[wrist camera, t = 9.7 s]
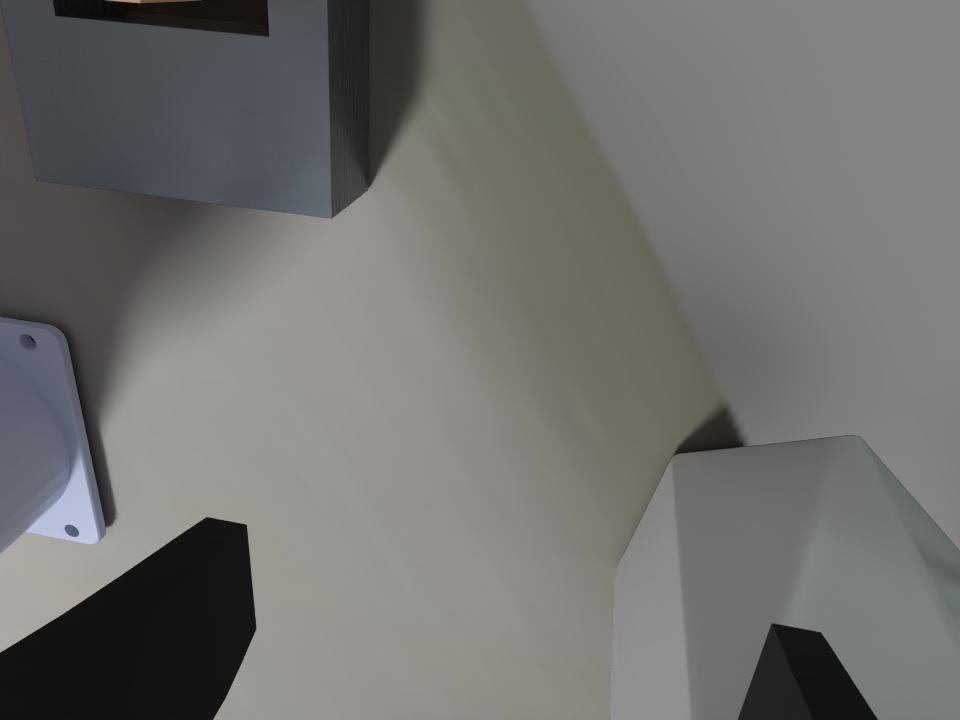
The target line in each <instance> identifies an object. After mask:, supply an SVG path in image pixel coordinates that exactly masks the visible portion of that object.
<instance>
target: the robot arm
mask: <svg viewBox="0 0 960 720" xmlns="http://www.w3.org/2000/svg"><path fill="white" fill-rule="evenodd" d="M30 336H31V337H32V338H33V339H34V340H35V342H36V343H34V342H33V341H32V340H31V338H30ZM24 532H30V533H35V534H40V535H45V536H50V537H55V538H60V539H65V540H70V541H75V542H80V543H86V544H96V543H98V542H99V541H100V540H101V539H102V538H103V537H104V536H105V534H106V527H105V522H104V517H103V513H102V508H101V503H100V498H99V493H98V488H97V483H96V479H95V474H94V469H93V464H92V459H91V454H90V449H89V445H88V440H87V435H86V430H85V425H84V420H83V416H82V411H81V406H80V401H79V396H78V391H77V386H76V382H75V377H74V372H73V367H72V362H71V357H70V353H69V348H68V343H67V340H66V338H65V336H64V334H63V333H62V332H61V331H60V330H59V329H57V328H56V327H55V326H52V325H49V324H43V323H37V322H30V321H24V320H17V319H11V318H5V317H0V554H1V553H2V552H3V551H4V550H6V549H7V548H8V547H9V546H10V545H11V544H12V543H13V542H14V541H15V540H17V539H18V538H19V537H20V536H21V535H22V534H23V533H24ZM255 631H256V619H255V608H254V597H253V587H252V576H251V565H250V555H249V544H248V533H247V525H246V524H240V523H235V522H230V521H224V520H219V519H214V518H208V517H206V518H205V519H203V520H202V521H200V522H199V523H197V524H196V525H194V526H193V527H191V528H190V529H188V530H187V531H185V532H184V533H182V534H181V535H179V536H178V537H176V538H175V539H173V540H172V541H171V542H169V543H168V544H166V545H165V546H163V547H162V548H160V549H159V550H158V551H156V552H155V553H153V554H152V555H150V556H149V557H147V558H146V559H144V560H143V561H142V562H140V563H139V564H137V565H136V566H134V567H133V568H131V569H130V570H128V571H127V572H125V573H124V574H123V575H121V576H120V577H118V578H117V579H115V580H114V581H112V582H111V583H109V584H108V585H106V586H105V587H103V588H102V589H100V590H99V591H97V592H96V593H94V594H93V595H91V596H90V597H88V598H87V599H85V600H84V601H82V602H81V603H79V604H78V605H76V606H75V607H73V608H72V609H70V610H69V611H67V612H66V613H64V614H62V615H61V616H59V617H58V618H56V619H54V620H53V621H51V622H50V623H48V624H46V625H45V626H43V627H41V628H40V629H38V630H37V631H35V632H33V633H32V634H30V635H28V636H27V637H25V638H24V639H22V640H20V641H19V642H17V643H15V644H14V645H12V646H11V647H9V648H7V649H6V650H4V651H2V652H1V653H0V720H213V719H214V717H215V715H216V714H217V712H218V710H219V708H220V707H221V705H222V703H223V701H224V700H225V698H226V696H227V694H228V692H229V689H230V687H231V685H232V683H233V681H234V679H235V677H236V674H237V672H238V670H239V668H240V666H241V663H242V661H243V659H244V656H245V654H246V652H247V649H248V647H249V645H250V643H251V640H252V638H253V636H254V633H255ZM738 720H878V718H877V717H876V715H875V714H874V712H873V711H872V709H871V708H870V706H869V705H868V703H867V702H866V700H865V699H864V697H863V696H862V694H861V693H860V691H859V689H858V688H857V686H856V685H855V683H854V682H853V680H852V679H851V677H850V675H849V674H848V672H847V671H846V669H845V668H844V666H843V665H842V663H841V661H840V660H839V658H838V657H837V655H836V654H835V652H834V651H833V649H832V648H831V646H830V645H829V643H828V641H827V640H826V639H825V637H824V636H823V634H822V633H821V632H817V631H812V630H806V629H801V628H796V627H790V626H785V625H780V624H774V623H771V626H770V629H769V632H768V635H767V638H766V640H765V643H764V646H763V649H762V652H761V655H760V657H759V660H758V663H757V666H756V669H755V672H754V674H753V677H752V680H751V683H750V686H749V688H748V691H747V694H746V697H745V700H744V703H743V705H742V708H741V711H740V714H739V717H738Z"/></svg>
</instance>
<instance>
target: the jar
mask: <svg viewBox="0 0 960 720" xmlns="http://www.w3.org/2000/svg"><path fill="white" fill-rule="evenodd" d="M771 623H774V624H780V625H785V626H790V627H796V628H801V629H806V630H812V631H817V632H821V633H822V634H823V636H824V637H825V639H826V640H827V641H828V643H829V645H830V646H831V648H832V649H833V651H834V652H835V654H836V655H837V657H838V658H839V660H840V661H841V663H842V665H843V666H844V668H845V669H846V671H847V672H848V674H849V675H850V677H851V679H852V680H853V682H854V683H855V685H856V686H857V688H858V689H859V691H860V693H861V694H862V696H863V697H864V699H865V700H866V702H867V703H868V705H869V706H870V708H871V709H872V711H873V712H874V714H875V715H876V717H877V718H878V720H960V551H959V549H958V548H957V547H956V546H955V544H954V543H953V542H952V541H951V540H950V539H949V538H948V536H947V535H946V534H945V533H944V532H943V531H942V530H941V529H940V527H939V526H938V525H937V524H936V523H935V522H934V521H933V519H932V518H931V517H930V516H929V515H928V514H927V513H926V511H925V510H924V509H923V508H922V507H921V506H920V504H918V502H917V501H916V500H915V499H914V498H913V497H912V495H911V494H910V493H909V492H908V491H907V490H906V488H905V487H904V486H903V485H902V484H901V483H900V482H899V481H898V479H897V478H896V477H895V476H894V475H893V474H892V472H891V471H890V470H889V469H888V468H887V467H886V465H885V464H884V463H883V462H882V461H881V460H880V459H879V457H878V456H877V455H876V454H875V453H874V452H873V451H872V449H871V448H870V447H869V446H868V445H867V444H866V442H865V441H864V440H863V439H862V438H860V437H858V436H855V435H845V436H837V437H828V438H819V439H811V440H802V441H793V442H784V443H774V444H766V445H756V446H747V447H738V448H728V449H719V450H710V451H700V452H690V453H680V454H677V455H675V456H673V457H672V458H671V460H670V462H669V464H668V466H667V468H666V470H665V472H664V474H663V476H662V478H661V480H660V482H659V484H658V486H657V488H656V490H655V492H654V494H653V496H652V498H651V500H650V502H649V504H648V506H647V508H646V511H645V513H644V515H643V517H642V519H641V521H640V523H639V525H638V527H637V529H636V531H635V533H634V535H633V537H632V539H631V541H630V543H629V545H628V547H627V549H626V551H625V553H624V555H623V557H622V559H621V561H620V563H619V565H618V567H617V569H616V572H615V587H614V617H613V648H612V679H611V710H610V720H738V717H739V714H740V711H741V708H742V705H743V703H744V700H745V697H746V694H747V691H748V688H749V686H750V683H751V680H752V677H753V674H754V672H755V669H756V666H757V663H758V660H759V657H760V655H761V652H762V649H763V646H764V643H765V640H766V638H767V635H768V632H769V629H770V626H771Z"/></svg>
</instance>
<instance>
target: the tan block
mask: <svg viewBox="0 0 960 720" xmlns="http://www.w3.org/2000/svg"><path fill="white" fill-rule="evenodd" d="M110 1H121V2H132V3H157V2H178V1H200V0H110Z"/></svg>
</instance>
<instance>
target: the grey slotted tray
mask: <svg viewBox="0 0 960 720" xmlns="http://www.w3.org/2000/svg"><path fill="white" fill-rule="evenodd" d="M0 3H1V8H2V13H3V18H4V23H5V28H6V32H7V37H8V42H9V47H10V52H11V57H12V62H13V67H14V72H15V76H16V81H17V86H18V91H19V96H20V101H21V106H22V111H23V116H24V120H25V125H26V130H27V135H28V140H29V145H30V150H31V155H32V160H33V164H34V169H35V174H36V179H37V181H44V182H52V183H59V184H67V185H75V186H82V187H90V188H98V189H106V190H113V191H121V192H129V193H137V194H144V195H152V196H160V197H167V198H175V199H183V200H191V201H198V202H206V203H214V204H222V205H229V206H237V207H245V208H252V209H260V210H268V211H276V212H283V213H291V214H299V215H306V216H314V217H322V218H330V219H332V218H333V217H335V216H336V215H337V214H338V213H340V212H341V211H342V210H343V209H345V208H346V207H347V206H349V205H350V204H351V203H352V202H354V201H355V200H356V199H357V198H359V197H360V196H361V195H363V194H364V193H365V192H366V191H368V61H369V0H267V3H268V21H269V25H264V24H254V23H243V22H233V21H222V20H212V19H202V18H191V17H181V16H170V15H160V14H149V13H139V12H128V4H127V2H121V1H110V0H0Z"/></svg>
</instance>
